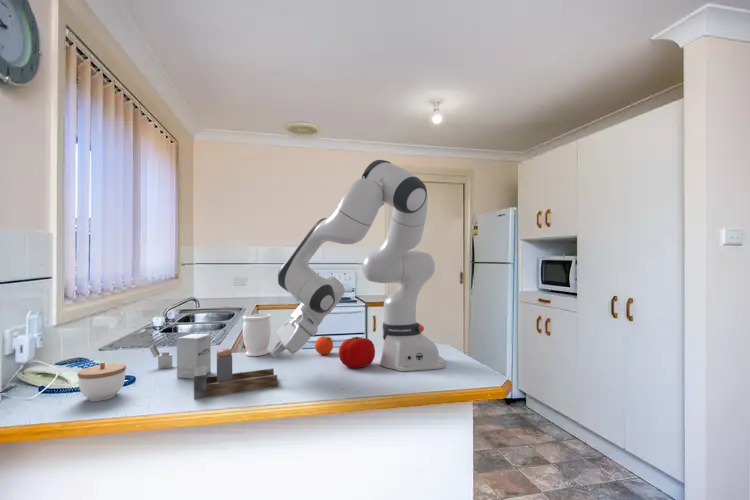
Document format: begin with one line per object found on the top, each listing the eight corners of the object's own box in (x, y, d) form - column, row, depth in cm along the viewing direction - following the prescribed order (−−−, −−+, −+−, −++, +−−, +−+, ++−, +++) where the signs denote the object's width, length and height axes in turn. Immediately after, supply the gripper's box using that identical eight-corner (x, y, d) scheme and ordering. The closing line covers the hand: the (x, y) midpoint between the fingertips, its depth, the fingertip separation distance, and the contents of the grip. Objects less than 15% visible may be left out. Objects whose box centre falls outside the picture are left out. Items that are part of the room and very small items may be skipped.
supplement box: (197, 379, 120) (196, 338, 120) (176, 378, 121) (175, 337, 121) (211, 372, 127) (211, 333, 127) (191, 371, 128) (191, 333, 129)
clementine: (338, 352, 150) (338, 334, 150) (331, 357, 143) (331, 338, 143) (319, 351, 152) (319, 333, 152) (312, 356, 145) (311, 337, 145)
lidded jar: (75, 397, 105) (75, 363, 105) (121, 387, 113) (121, 355, 113) (81, 408, 98) (81, 370, 98) (130, 396, 105) (130, 362, 105)
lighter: (172, 366, 134) (172, 343, 135) (170, 367, 133) (170, 344, 133) (151, 367, 134) (151, 344, 134) (148, 368, 132) (148, 345, 132)
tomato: (380, 368, 129) (379, 337, 129) (343, 372, 124) (343, 340, 124) (368, 359, 139) (368, 331, 139) (334, 364, 134) (334, 334, 134)
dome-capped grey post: (231, 379, 113) (231, 347, 114) (232, 384, 109) (232, 351, 109) (216, 381, 112) (216, 349, 112) (217, 386, 107) (216, 353, 107)
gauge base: (272, 377, 121) (272, 357, 121) (278, 386, 111) (277, 365, 111) (195, 387, 112) (195, 366, 112) (194, 398, 103) (193, 376, 103)
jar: (266, 357, 144) (265, 317, 145) (238, 357, 145) (238, 317, 145) (274, 350, 155) (273, 313, 155) (248, 350, 155) (248, 313, 156)
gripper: (290, 309, 129) (261, 341, 126) (303, 319, 111) (268, 357, 107) (304, 321, 131) (275, 353, 128) (318, 333, 112) (285, 371, 109)
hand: (272, 355), depth 117 cm, fingers closed
